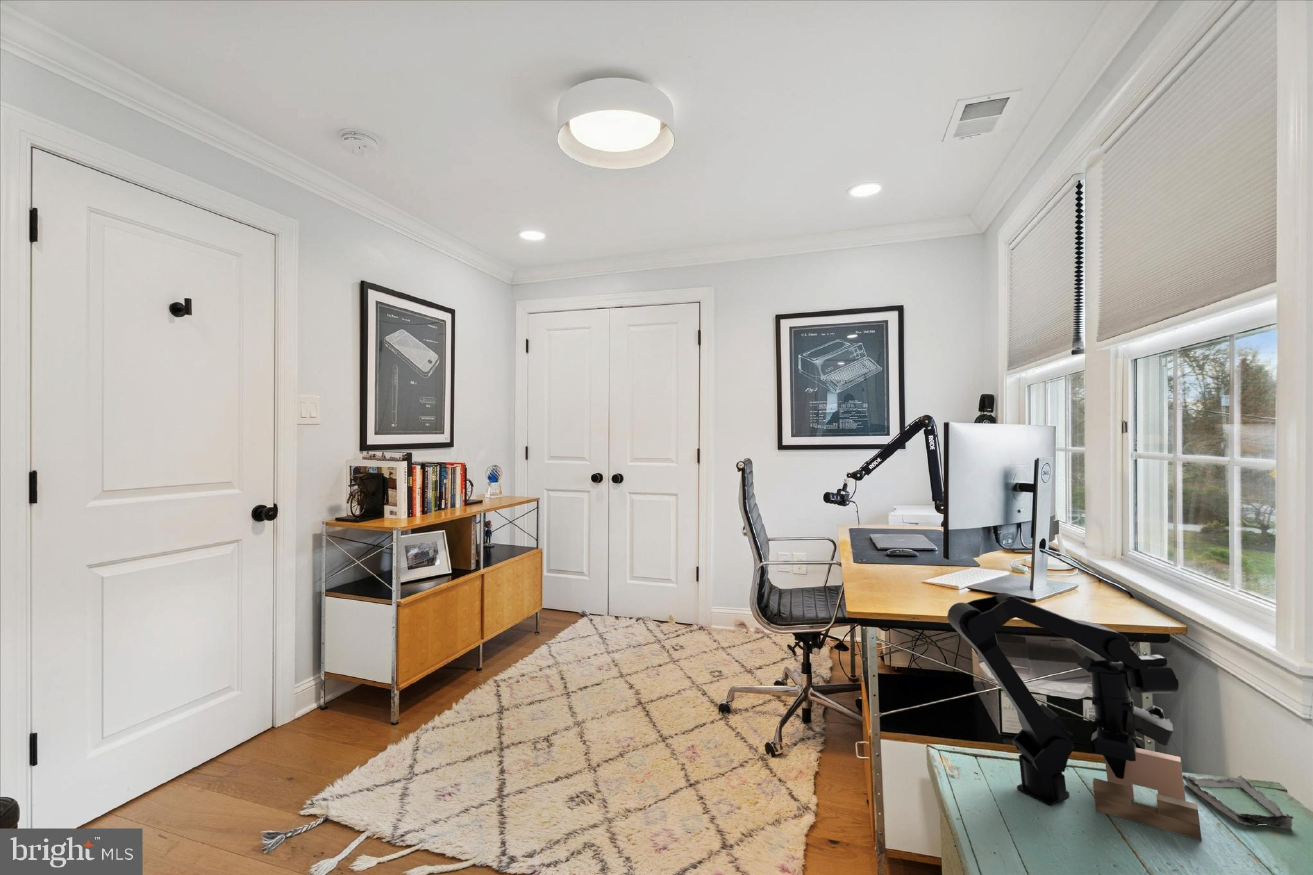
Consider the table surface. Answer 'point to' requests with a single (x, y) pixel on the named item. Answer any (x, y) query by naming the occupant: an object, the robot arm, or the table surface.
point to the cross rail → (1148, 809)
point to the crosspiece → (1152, 773)
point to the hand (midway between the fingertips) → (1120, 775)
